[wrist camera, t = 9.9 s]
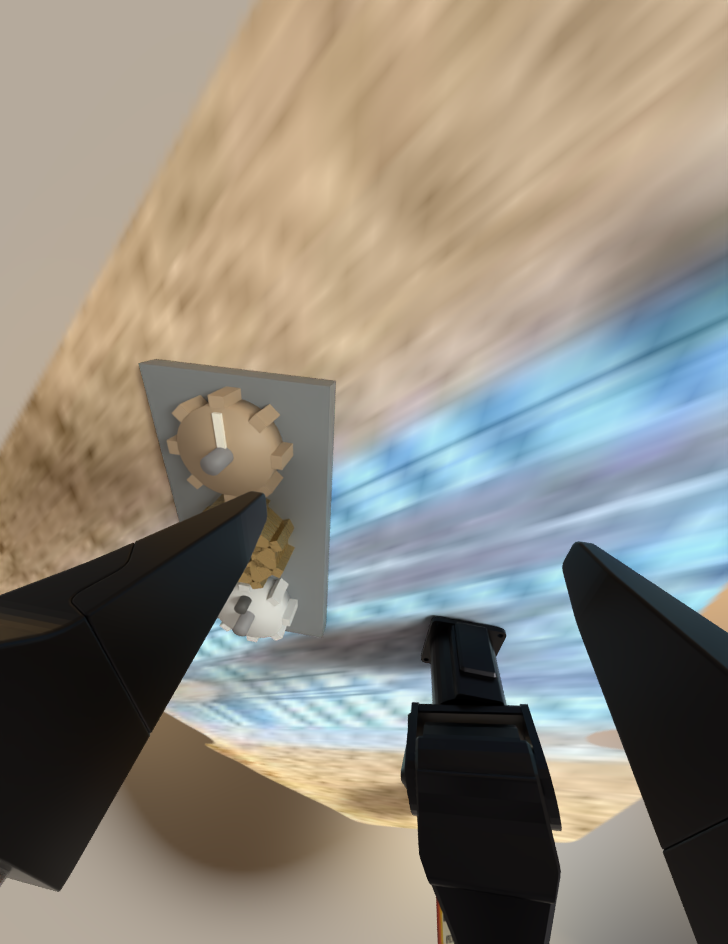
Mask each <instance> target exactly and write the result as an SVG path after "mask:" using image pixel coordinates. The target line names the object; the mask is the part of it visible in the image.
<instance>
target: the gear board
mask: <svg viewBox="0 0 728 944" xmlns="http://www.w3.org/2000/svg"><path fill="white" fill-rule="evenodd" d="M139 367H140V371H141V375H142V379H143V383H144V386H145V390H146V394H147V398H148V402H149V406H150V410H151V413H152V417H153V421H154V425H155V429H156V433H157V437H158V441H159V444H160V448H161V452H162V456H163V460H164V464H165V468H166V471H167V475H168V479H169V483H170V487H171V491H172V495H173V499H174V502H175V506H176V510H177V514H178V518H179V522H181V521H183V520H186V519H188V518H190V517H193V516H195V515H197V514H199V513H202V512H203V511H204V510H205V509H206V508H207V507H208V506H211V505H212V504H213V503H214V502H215V501H216V500H217V499H218V498H219V497H220V496H221V495H222V494H224V500H225V502H227V501H229V500H231V499H234V498H236V497H238V496H240V495H243V494H245V493H247V492H249V491H256V492H262V493H264V494H265V497H266V498H267V499H269V500H271V501H270V503H269V505H268V506H269V507H270V508H271V509H272V510H273V511H274V512H275V513H276V514H277V515H278V516H279V517H280V518H281V519H282V520H284V519H290V520H291V522H292V524H293V526H294V530H293V532H292V533H291V535H290V537H289V539H288V544H289V545H291V546H293V547H295V548H294V551H293V553H292V555H291V557H290V559H289V561H288V563H287V565H286V567H285V569H284V571H283V573H282V575H281V577H280V578H278V577H276V576H273V575H271V576H270V577H268V579H267V581H266V583H265V585H264V587H263V588H259V589H252V587H251V586H250V584H247V583H242V582H237V584H236V586H235V588H234V589H233V591H232V593H231V595H230V596H229V598H228V600H227V602H226V603H225V605H224V607H223V609H222V610H221V612H220V614H219V616H218V617H217V618H219V619H220V620H221V621H222V623H221V624H220V627H222V628H223V629H224V630H226V631H229V630H231V629H232V630H233V632H234V633H235V634H236V635H238V636H247V640H248V641H253V642H257V641H258V639H259V638H266V637H271V638H273V639H274V640H275V641H277V640H279V639H281V638H283V635H284V633H285V631H288V632H294V633H299V634H304V635H309V636H315V637H320V638H322V637H323V634H324V630H325V626H326V616H327V591H328V566H329V541H330V516H331V491H332V466H333V441H334V416H335V391H336V381H333V380H324V379H316V378H308V377H300V376H291V375H283V374H275V373H267V372H258V371H250V370H242V369H234V368H225V367H217V366H209V365H200V364H192V363H184V362H176V361H167V360H159V359H154V360H150V361H146V362H141V363H139Z"/></svg>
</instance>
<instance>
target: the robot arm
mask: <svg viewBox="0 0 728 944" xmlns="http://www.w3.org/2000/svg"><path fill="white" fill-rule="evenodd" d="M266 520H267V507H266V497H265V494H264V493H262V492H256V491H249V492H247V493H245V494H243V495H240V496H238V497H236V498H234V499H231V500H229V501H227V502H224V503H222V504H220V505H218V506H215V507H213V508H211V509H208V510H206V511H204V512H202V513H199V514H197V515H195V516H193V517H190V518H188V519H186V520H183V521H181V522H179V523H177V524H174V525H172V526H170V527H168V528H165V529H163V530H161V531H158V532H156V533H154V534H152V535H149V536H147V537H145V538H143V539H140V540H138V541H136V542H135V544H134V543H131V544H129V545H126V546H124V547H122V548H120V549H117V550H115V551H113V552H110V553H108V554H106V555H103V556H101V557H99V558H96V559H94V560H91V561H89V562H86V563H84V564H81V565H79V566H76V567H73V568H71V569H68V570H66V571H63V572H60V573H58V574H55V575H52V576H50V577H47V578H44V579H42V580H39V581H37V582H34V583H31V584H29V585H26V586H23V587H21V588H18V589H15V590H13V591H10V592H7V593H5V594H2V595H0V886H1V885H2V884H3V882H4V881H5V879H6V878H10V879H14V880H17V881H21V882H24V883H28V884H32V885H35V886H39V887H42V888H46V889H50V890H53V891H57V892H59V891H60V890H61V889H62V887H63V886H64V884H65V882H66V881H67V879H68V878H69V876H70V874H71V873H72V871H73V869H74V867H75V866H76V864H77V862H78V860H79V859H80V857H81V855H82V854H83V852H84V850H85V848H86V847H87V845H88V843H89V841H90V840H91V838H92V836H93V834H94V833H95V831H96V829H97V827H98V825H99V824H100V822H101V820H102V819H103V817H104V815H105V813H106V812H107V810H108V808H109V806H110V804H111V803H112V801H113V799H114V798H115V796H116V794H117V792H118V790H119V789H120V787H121V785H122V784H123V782H124V780H125V778H126V777H127V775H128V773H129V771H130V770H131V768H132V766H133V764H134V763H135V761H136V759H137V757H138V756H139V754H140V752H141V750H142V749H143V747H144V745H145V743H146V742H147V740H148V738H149V737H150V733H151V732H152V731H153V729H154V727H155V726H156V724H157V722H158V720H159V718H160V717H161V715H162V713H163V712H164V710H165V708H166V706H167V705H168V703H169V701H170V699H171V698H172V696H173V694H174V692H175V691H176V689H177V687H178V685H179V684H180V682H181V680H182V678H183V677H184V675H185V673H186V671H187V670H188V668H189V666H190V664H191V663H192V661H193V659H194V658H195V656H196V654H197V652H198V651H199V649H200V647H201V645H202V644H203V642H204V640H205V638H206V637H207V635H208V633H209V631H210V630H211V628H212V626H213V624H214V623H215V621H216V619H217V617H218V616H219V614H220V612H221V610H222V609H223V607H224V605H225V603H226V602H227V600H228V598H229V596H230V595H231V593H232V591H233V589H234V588H235V586H236V584H237V582H238V581H239V579H240V577H241V575H242V574H243V572H244V570H245V568H246V566H247V565H248V562H249V560H250V558H251V556H252V553H253V551H254V549H255V546H256V544H257V542H258V539H259V537H260V535H261V532H262V530H263V528H264V525H265V523H266ZM562 570H563V574H564V578H565V582H566V586H567V590H568V594H569V597H570V601H571V605H572V609H573V613H574V616H575V620H576V623H577V626H578V629H579V631H580V634H581V637H582V639H583V642H584V645H585V647H586V650H587V653H588V655H589V658H590V660H591V663H592V666H593V668H594V671H595V674H596V676H597V679H598V682H599V684H600V687H601V689H602V692H603V695H604V697H605V700H606V703H607V705H608V708H609V711H610V713H611V716H612V719H613V721H614V724H615V726H616V729H617V732H618V734H619V737H620V740H621V742H622V745H623V748H624V750H625V753H626V755H627V758H628V761H629V763H630V766H631V769H632V771H633V774H634V777H635V779H636V782H637V785H638V787H639V790H640V792H641V795H642V798H643V800H644V802H645V806H646V808H647V811H648V813H649V816H650V819H651V821H652V824H653V827H654V829H655V832H656V835H657V837H658V840H659V843H660V845H661V847H662V849H664V850H663V854H664V856H665V859H666V862H667V864H668V867H669V870H670V872H671V875H672V878H673V880H674V883H675V886H676V888H677V891H678V893H679V896H680V899H681V901H682V904H683V907H684V909H685V912H686V914H687V917H688V920H689V923H690V925H691V928H692V930H693V933H694V935H695V938H696V941H697V943H698V944H728V633H727V632H726V631H724V630H723V629H721V628H719V627H718V626H717V625H715V624H714V623H712V622H711V621H709V620H708V619H706V618H705V617H703V616H702V615H700V614H699V613H697V612H696V611H694V610H693V609H691V608H690V607H688V606H687V605H685V604H684V603H682V602H681V601H679V600H678V599H676V598H675V597H673V596H672V595H670V594H668V593H667V592H665V591H664V590H662V589H661V588H659V587H658V586H656V585H655V584H653V583H652V582H650V581H649V580H647V579H646V578H644V577H643V576H641V575H640V574H638V573H637V572H635V571H634V570H632V569H631V568H629V567H628V566H626V565H625V564H623V563H622V562H620V561H619V560H617V559H616V558H614V557H613V556H611V555H610V554H608V553H607V552H605V551H604V550H602V549H601V548H599V547H597V546H596V545H594V544H592V543H586V542H580V541H578V542H575V543H574V544H573V545H572V547H571V549H570V551H569V553H568V554H567V556H566V558H565V560H564V562H563V566H562ZM505 638H506V632H505V630H504V629H502V628H497V627H492V626H486V625H481V624H475V623H470V622H464V621H458V620H453V619H447V618H442V617H434V618H432V620H431V623H430V627H429V630H428V633H427V637H426V640H425V643H424V647H423V650H422V653H421V660H422V661H423V662H425V663H430V664H431V680H432V704H419V702H412V707H411V713H409V714H408V733H407V744H406V749H405V754H404V758H403V763H402V768H401V781H402V783H403V784H404V786H405V787H406V789H407V794H408V798H409V805H410V810H411V813H412V815H414V816H417V822H418V845H419V855H420V859H421V862H422V865H423V867H424V871H425V874H426V876H427V879H428V881H429V883H430V884H431V885H432V887H433V890H434V892H435V895H436V898H437V900H438V903H439V905H440V908H441V910H442V913H443V916H444V918H445V921H446V923H447V926H448V928H449V931H450V934H451V936H452V939H453V941H454V944H549V941H550V936H551V930H552V924H553V918H554V912H555V906H556V899H557V894H558V887H559V882H560V873H561V870H560V864H559V859H558V855H557V851H556V847H555V842H554V838H553V834H552V830H556V831H561V830H562V827H561V820H560V814H559V809H558V805H557V800H556V796H555V792H554V788H553V784H552V780H551V776H550V773H549V769H548V766H547V763H546V760H545V757H544V753H543V750H542V747H541V744H540V741H539V738H538V735H537V732H536V729H535V726H534V723H533V720H532V716H531V713H530V710H529V707H528V704H520V706H512V705H506V700H505V696H504V691H503V687H502V682H501V678H500V673H499V669H498V665H497V660H496V656H497V654H498V652H499V650H500V648H501V646H502V644H503V642H504V640H505Z"/></svg>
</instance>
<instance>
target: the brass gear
mask: <svg viewBox="0 0 728 944" xmlns="http://www.w3.org/2000/svg"><path fill="white" fill-rule="evenodd" d="M270 501H271V500H269V499H267V498H266V507H267V520H266V523H265V525H264V528H263V530H262V532H261V535H260V537H259V539H258V542H257V544H256V546H255V549H254V551H253V553H252V556H251V558H250V560H249V562H248V565H247V566H246V568H245V570H244V572H243V574H242V575H241V577H240V579H239V581H238V582H242V583H247V584H250V586H251V587H252V589H259V588H263V587H264V585H265V583H266V581H267V579H268V577H270V576H271V575H273V576H276V577H278V578H280V577H281V575H282V573H283V571H284V569H285V567H286V565H287V563H288V561H289V559H290V557H291V555H292V553H293V551H294V548H295V547H293V546H291V545H289V544H288V539H289V537H290V535H291V533H292V532H293V530H294V526H293V524H292V522H291V520H290V519H284V520H282V519H281V518H280V517H279V516H278V515H277V514H276V513H275V512H274V511H273V510H272V509H271V508H270V507H269V506H268V505H269V503H270ZM224 502H225V500H224V494H222V495H221V496H220V497H219V498H218V499H217V500H216V501H215V502H214V503H213V504H212V505H211V506H208V507H207V508H206V509H205V510H204V511H206V510H208V509H211V508H213V507H215V506H218V505H220V504H222V503H224ZM204 511H203V512H204Z"/></svg>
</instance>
